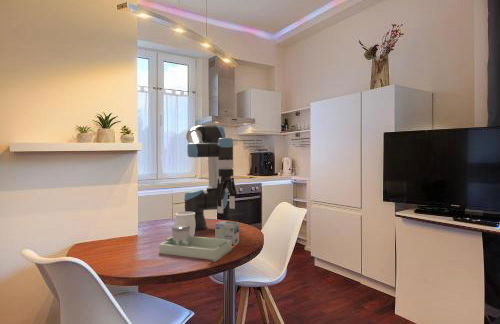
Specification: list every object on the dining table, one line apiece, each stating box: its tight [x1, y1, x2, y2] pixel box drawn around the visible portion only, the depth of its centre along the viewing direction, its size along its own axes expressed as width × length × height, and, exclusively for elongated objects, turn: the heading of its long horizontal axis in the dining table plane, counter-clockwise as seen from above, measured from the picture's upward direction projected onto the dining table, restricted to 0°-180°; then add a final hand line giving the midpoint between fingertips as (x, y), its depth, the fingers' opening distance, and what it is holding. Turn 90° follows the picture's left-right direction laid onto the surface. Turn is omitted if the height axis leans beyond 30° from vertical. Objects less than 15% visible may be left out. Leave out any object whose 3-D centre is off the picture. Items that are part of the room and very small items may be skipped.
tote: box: [158, 235, 233, 263], centre depth 142 cm, size 17×28×6 cm, turn 69°
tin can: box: [171, 225, 190, 247], centre depth 145 cm, size 8×8×10 cm
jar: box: [174, 211, 196, 236], centre depth 161 cm, size 11×10×15 cm
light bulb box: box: [214, 220, 240, 247], centre depth 157 cm, size 11×7×11 cm, turn 71°
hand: (226, 210), depth 157 cm, fingers open, 13 cm apart
